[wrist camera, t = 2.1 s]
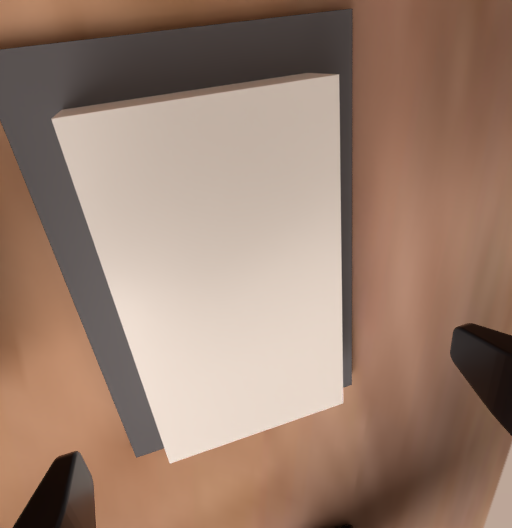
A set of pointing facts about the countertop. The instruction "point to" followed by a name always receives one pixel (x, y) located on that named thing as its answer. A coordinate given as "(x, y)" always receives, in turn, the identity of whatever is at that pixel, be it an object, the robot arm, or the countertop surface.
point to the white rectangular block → (220, 248)
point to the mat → (145, 85)
